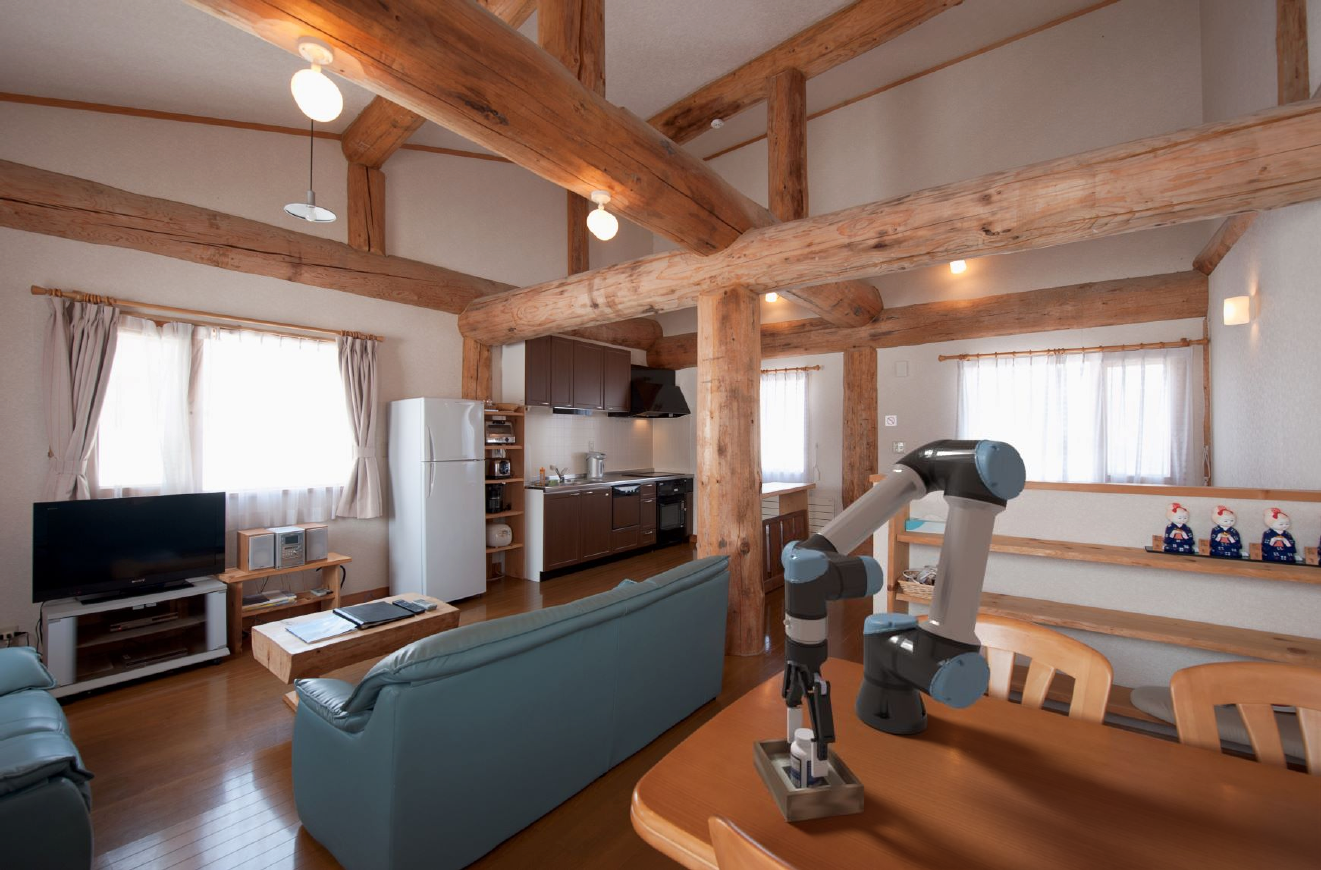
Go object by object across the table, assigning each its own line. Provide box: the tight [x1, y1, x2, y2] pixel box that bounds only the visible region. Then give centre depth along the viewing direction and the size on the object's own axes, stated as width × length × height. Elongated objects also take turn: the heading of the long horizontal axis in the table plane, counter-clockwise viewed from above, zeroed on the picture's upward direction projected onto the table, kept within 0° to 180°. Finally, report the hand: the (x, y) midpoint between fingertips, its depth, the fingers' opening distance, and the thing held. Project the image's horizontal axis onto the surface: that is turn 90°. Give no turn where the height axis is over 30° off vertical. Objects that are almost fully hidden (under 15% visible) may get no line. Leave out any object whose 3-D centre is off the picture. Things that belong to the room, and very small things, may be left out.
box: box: [752, 737, 865, 823], centre depth 100 cm, size 14×16×4 cm
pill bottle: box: [790, 727, 822, 789], centre depth 100 cm, size 5×5×10 cm
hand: (806, 757), depth 100 cm, fingers open, 10 cm apart
